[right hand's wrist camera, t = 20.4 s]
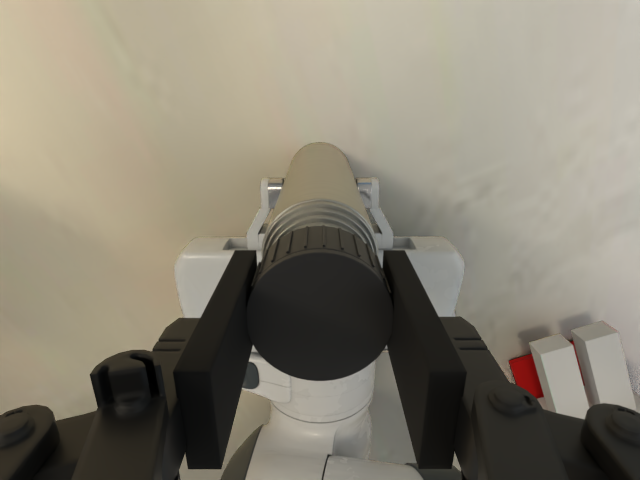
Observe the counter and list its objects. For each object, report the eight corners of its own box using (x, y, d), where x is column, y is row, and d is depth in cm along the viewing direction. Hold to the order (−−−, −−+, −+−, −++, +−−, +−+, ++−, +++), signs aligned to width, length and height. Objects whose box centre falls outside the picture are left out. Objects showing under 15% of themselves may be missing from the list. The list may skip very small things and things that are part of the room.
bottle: (361, 163, 33) (429, 289, 13) (329, 213, 35) (342, 397, 14) (309, 130, 32) (292, 208, 12) (278, 182, 34) (214, 332, 13)
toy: (703, 350, 28) (759, 656, 34) (589, 284, 41) (644, 514, 47) (527, 398, 30) (611, 683, 36) (471, 320, 43) (539, 539, 49)
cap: (255, 336, 16) (244, 379, 13) (255, 219, 14) (242, 246, 12) (377, 342, 16) (386, 386, 13) (391, 226, 14) (405, 254, 12)
